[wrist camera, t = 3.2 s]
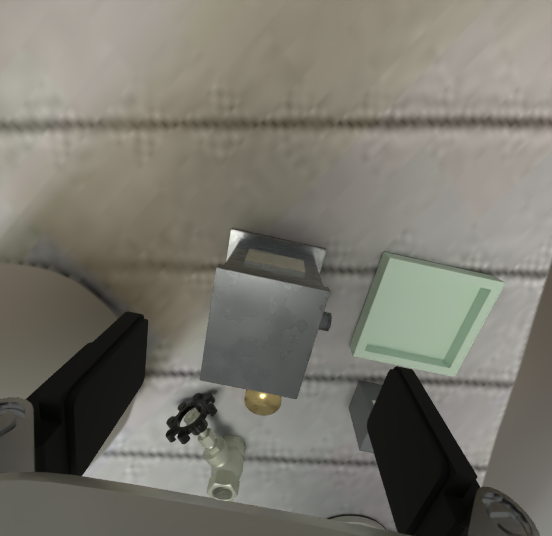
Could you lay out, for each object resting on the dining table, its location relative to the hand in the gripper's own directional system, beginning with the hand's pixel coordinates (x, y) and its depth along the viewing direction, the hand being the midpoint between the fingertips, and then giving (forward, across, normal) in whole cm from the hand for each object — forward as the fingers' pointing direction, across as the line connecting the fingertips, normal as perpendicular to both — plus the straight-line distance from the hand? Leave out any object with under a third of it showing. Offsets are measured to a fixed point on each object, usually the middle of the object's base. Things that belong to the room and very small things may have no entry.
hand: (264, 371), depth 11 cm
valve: (+21, +2, +28) cm, 35 cm away
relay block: (+20, -16, +18) cm, 32 cm away
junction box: (+20, 0, +6) cm, 21 cm away
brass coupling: (+20, -2, +17) cm, 27 cm away
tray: (+20, -17, +5) cm, 27 cm away
